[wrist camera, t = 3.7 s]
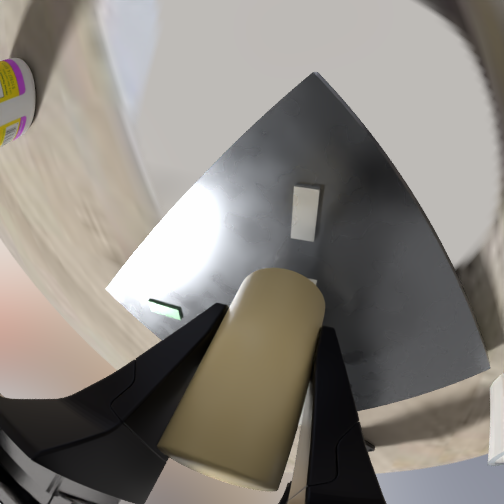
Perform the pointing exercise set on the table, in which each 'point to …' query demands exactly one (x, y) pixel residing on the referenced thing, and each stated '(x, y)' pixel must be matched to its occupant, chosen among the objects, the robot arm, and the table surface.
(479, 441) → the table surface
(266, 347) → the beige rounded piece
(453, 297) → the base
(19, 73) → the supplement bottle
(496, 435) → the shot glass
